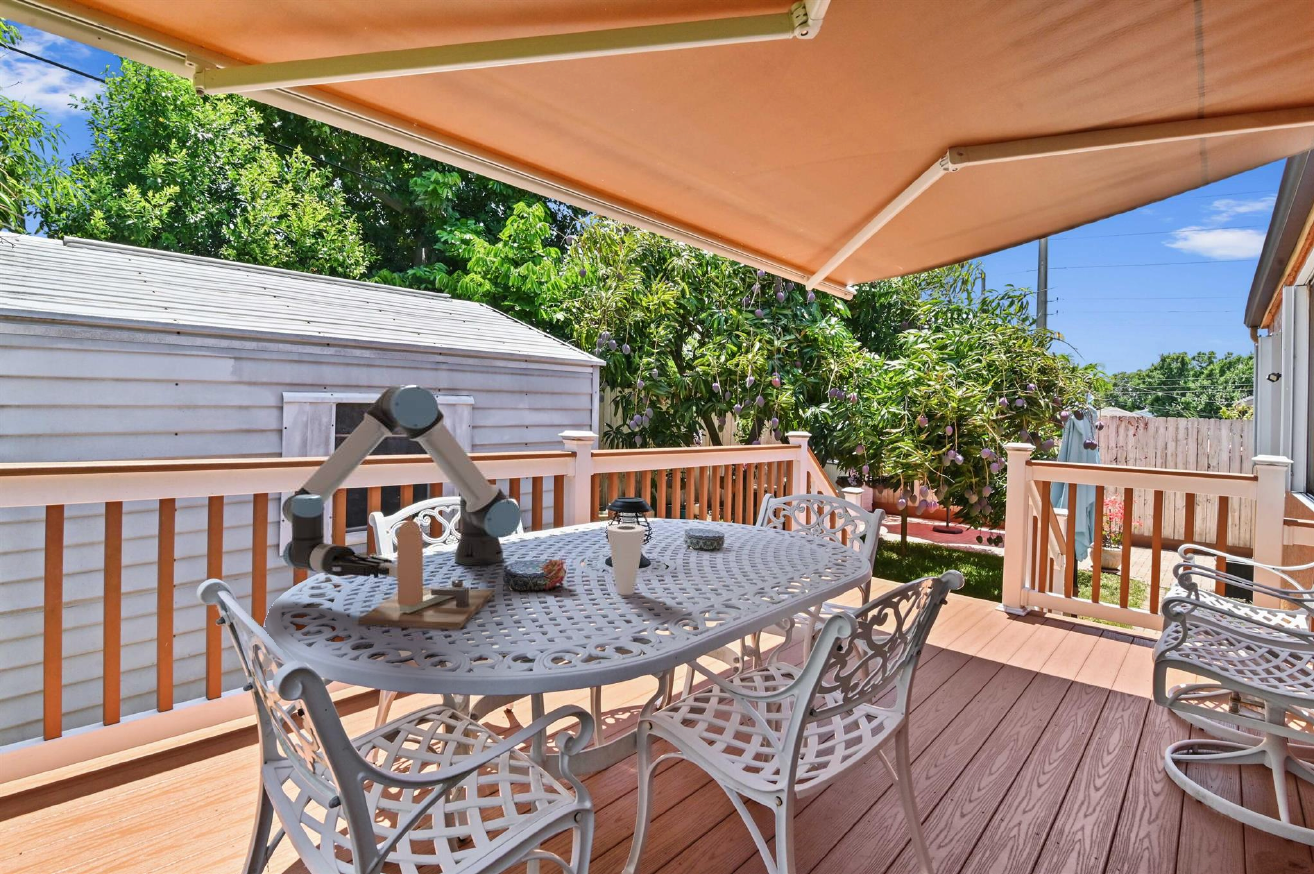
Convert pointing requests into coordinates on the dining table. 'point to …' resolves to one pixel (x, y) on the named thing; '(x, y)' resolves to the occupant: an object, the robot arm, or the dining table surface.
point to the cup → (625, 555)
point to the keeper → (454, 593)
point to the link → (412, 570)
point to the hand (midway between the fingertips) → (402, 572)
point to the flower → (554, 572)
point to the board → (427, 612)
